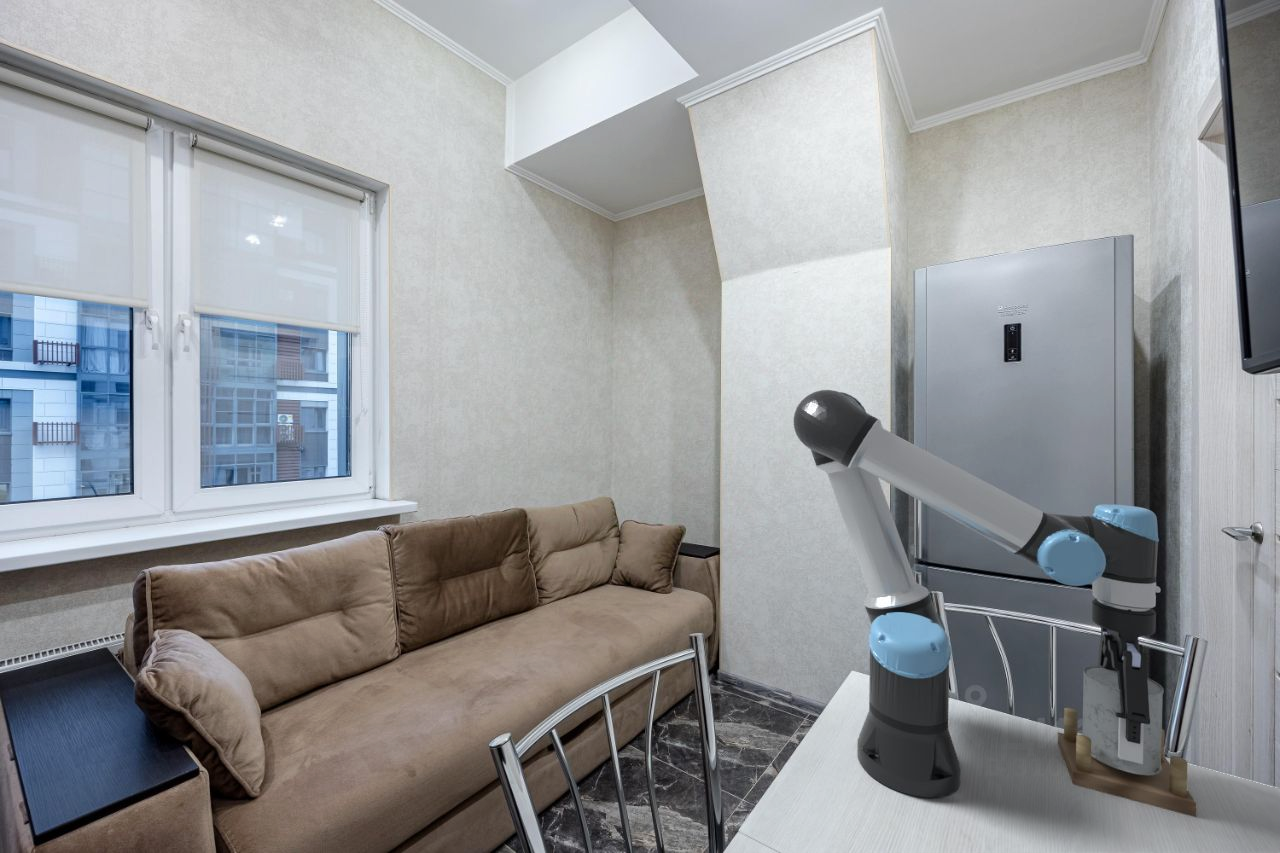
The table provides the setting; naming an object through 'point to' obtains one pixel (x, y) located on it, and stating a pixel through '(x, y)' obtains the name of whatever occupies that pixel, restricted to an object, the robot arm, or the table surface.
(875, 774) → the robot arm
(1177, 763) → the peg stand
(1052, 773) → the table surface
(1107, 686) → the grey marbled cylinder
